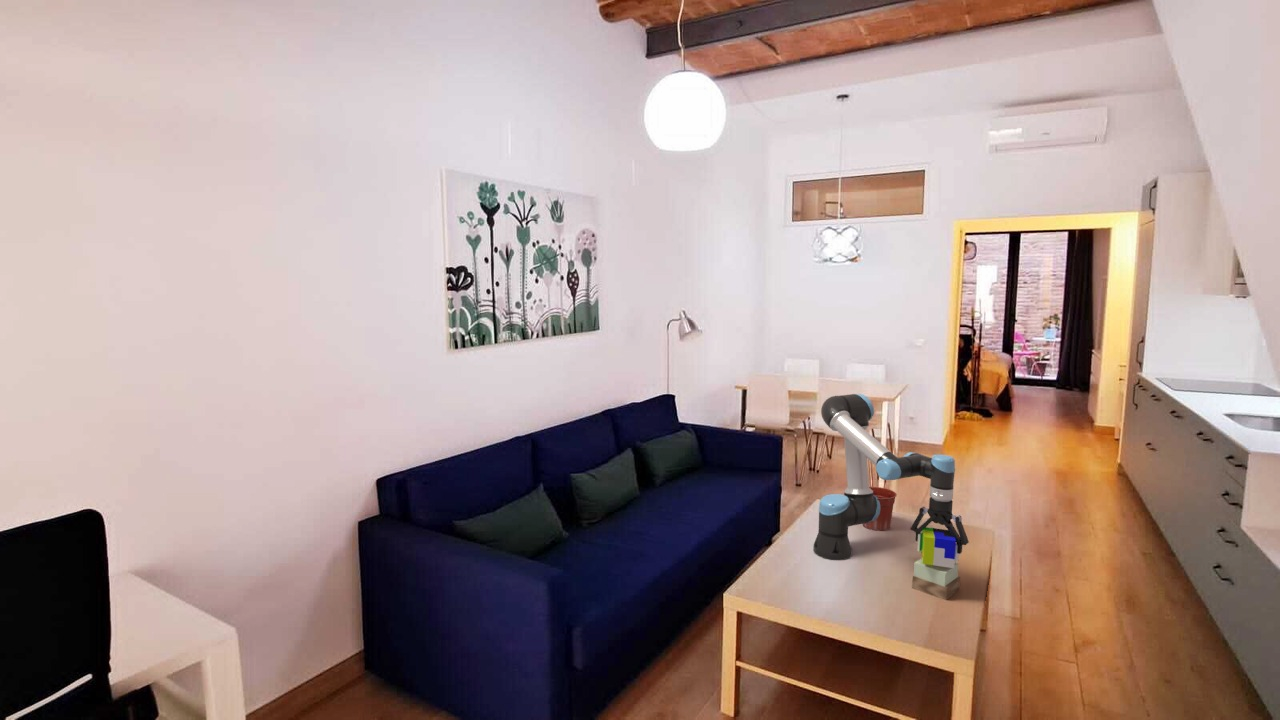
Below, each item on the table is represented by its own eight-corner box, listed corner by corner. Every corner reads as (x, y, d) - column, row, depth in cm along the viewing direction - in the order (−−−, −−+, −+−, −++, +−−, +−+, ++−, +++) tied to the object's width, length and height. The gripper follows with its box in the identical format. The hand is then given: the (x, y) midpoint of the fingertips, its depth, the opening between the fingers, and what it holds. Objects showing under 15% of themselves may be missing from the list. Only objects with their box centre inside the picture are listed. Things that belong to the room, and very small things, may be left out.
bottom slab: (911, 589, 230) (912, 576, 230) (925, 579, 239) (926, 566, 238) (945, 601, 222) (946, 587, 221) (959, 590, 230) (960, 577, 229)
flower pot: (860, 531, 283) (861, 497, 281) (854, 518, 299) (855, 485, 298) (898, 534, 281) (900, 499, 279) (890, 520, 297) (892, 487, 295)
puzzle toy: (954, 568, 221) (955, 541, 220) (922, 563, 224) (924, 536, 223) (950, 556, 230) (952, 530, 229) (921, 552, 234) (922, 526, 233)
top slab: (913, 575, 230) (914, 562, 229) (927, 567, 237) (927, 554, 237) (944, 586, 222) (945, 573, 221) (957, 577, 229) (958, 564, 229)
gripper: (903, 492, 232) (899, 548, 235) (973, 509, 215) (969, 569, 218) (911, 488, 238) (908, 543, 240) (981, 504, 220) (977, 563, 223)
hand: (937, 555), depth 229 cm, fingers closed on puzzle toy, 12 cm apart
